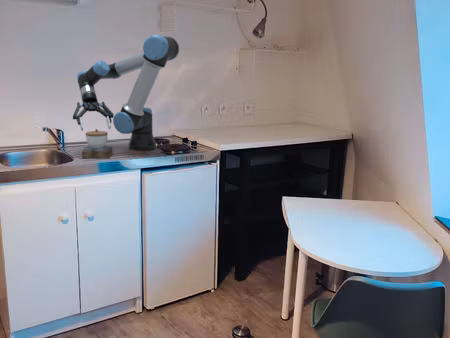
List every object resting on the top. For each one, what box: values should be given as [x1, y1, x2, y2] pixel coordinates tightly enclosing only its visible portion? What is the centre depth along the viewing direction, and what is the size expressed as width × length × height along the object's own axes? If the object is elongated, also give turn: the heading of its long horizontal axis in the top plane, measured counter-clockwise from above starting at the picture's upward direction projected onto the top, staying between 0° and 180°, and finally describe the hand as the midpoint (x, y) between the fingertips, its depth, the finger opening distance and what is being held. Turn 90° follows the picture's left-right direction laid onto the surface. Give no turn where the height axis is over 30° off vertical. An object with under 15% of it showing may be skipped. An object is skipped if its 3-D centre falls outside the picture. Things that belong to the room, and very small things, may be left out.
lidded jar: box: [85, 128, 108, 149], centre depth 211 cm, size 11×11×9 cm
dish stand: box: [81, 144, 113, 159], centre depth 213 cm, size 13×13×4 cm
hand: (96, 128), depth 209 cm, fingers open, 13 cm apart
